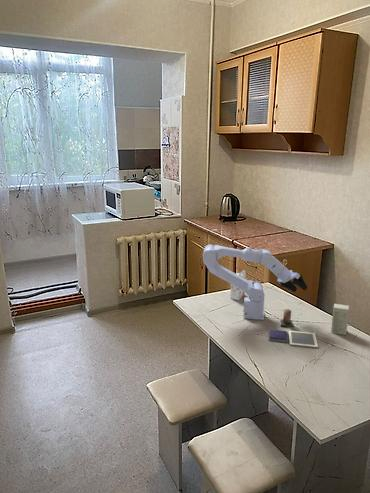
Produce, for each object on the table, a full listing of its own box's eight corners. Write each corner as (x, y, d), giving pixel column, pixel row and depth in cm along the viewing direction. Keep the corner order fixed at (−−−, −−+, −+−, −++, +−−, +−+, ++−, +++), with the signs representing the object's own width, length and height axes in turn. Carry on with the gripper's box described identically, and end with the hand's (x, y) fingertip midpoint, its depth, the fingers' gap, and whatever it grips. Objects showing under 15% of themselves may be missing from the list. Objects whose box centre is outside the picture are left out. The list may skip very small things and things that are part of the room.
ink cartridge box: (236, 292, 203) (237, 267, 198) (245, 294, 200) (246, 269, 196) (229, 298, 196) (230, 272, 191) (238, 300, 193) (239, 274, 189)
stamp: (280, 326, 167) (282, 312, 165) (280, 321, 172) (281, 307, 170) (292, 328, 166) (293, 313, 164) (291, 322, 171) (292, 308, 169)
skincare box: (346, 330, 163) (350, 305, 160) (346, 335, 159) (349, 309, 156) (331, 327, 166) (334, 302, 162) (330, 332, 162) (333, 307, 158)
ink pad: (268, 340, 156) (268, 337, 155) (268, 332, 163) (268, 328, 162) (288, 342, 154) (288, 339, 154) (287, 334, 161) (287, 330, 160)
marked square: (289, 345, 152) (289, 343, 152) (288, 331, 163) (288, 330, 163) (317, 348, 150) (318, 346, 150) (314, 334, 161) (314, 333, 160)
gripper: (293, 261, 164) (315, 281, 166) (275, 266, 177) (295, 285, 179) (285, 272, 161) (307, 293, 163) (267, 277, 175) (288, 296, 176)
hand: (300, 289), depth 171 cm, fingers open, 7 cm apart
